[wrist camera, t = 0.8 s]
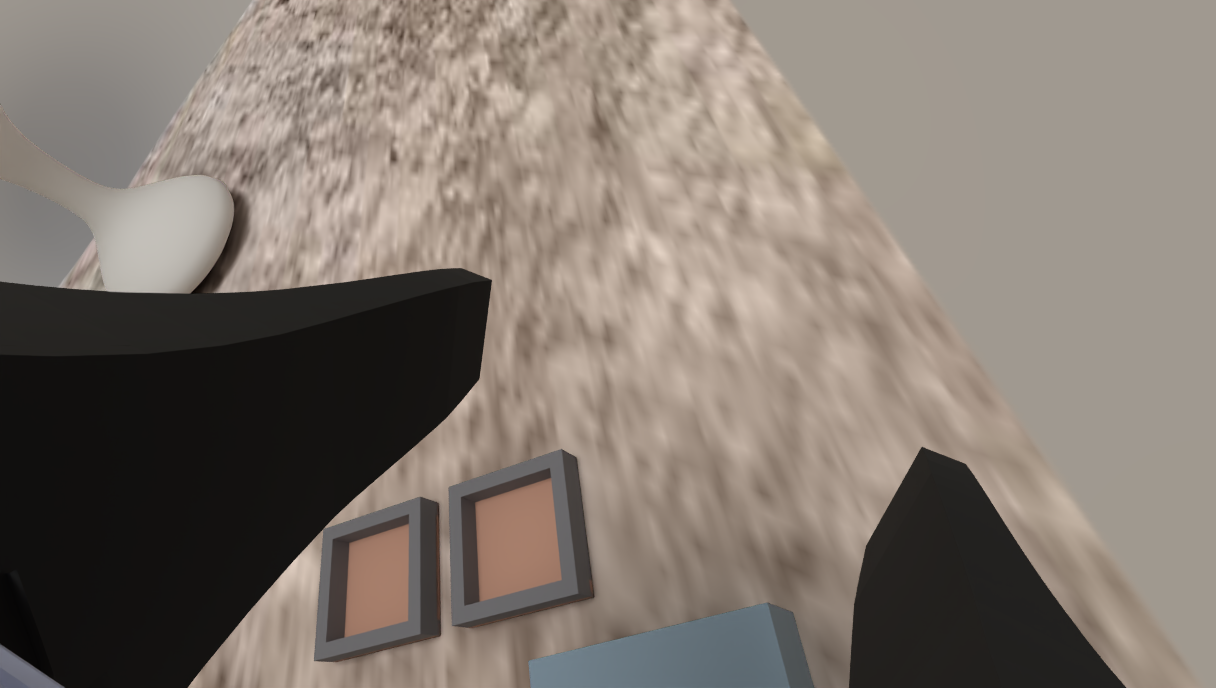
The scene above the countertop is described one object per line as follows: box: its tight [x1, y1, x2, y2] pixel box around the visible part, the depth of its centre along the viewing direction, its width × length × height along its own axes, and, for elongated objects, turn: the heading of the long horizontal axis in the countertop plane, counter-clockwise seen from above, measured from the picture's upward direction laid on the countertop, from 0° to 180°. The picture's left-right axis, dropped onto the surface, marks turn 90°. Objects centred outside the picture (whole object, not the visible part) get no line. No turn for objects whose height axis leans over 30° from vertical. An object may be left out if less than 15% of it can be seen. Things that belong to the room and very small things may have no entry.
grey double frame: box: [314, 449, 594, 662], centre depth 28 cm, size 6×12×1 cm, turn 99°
